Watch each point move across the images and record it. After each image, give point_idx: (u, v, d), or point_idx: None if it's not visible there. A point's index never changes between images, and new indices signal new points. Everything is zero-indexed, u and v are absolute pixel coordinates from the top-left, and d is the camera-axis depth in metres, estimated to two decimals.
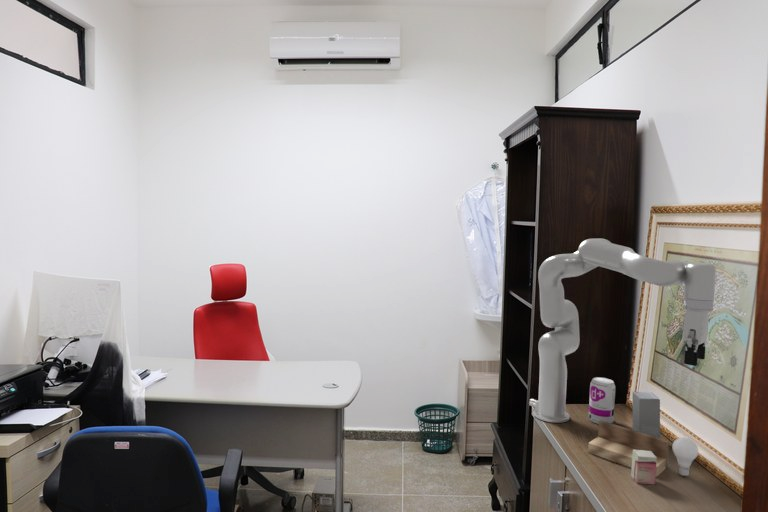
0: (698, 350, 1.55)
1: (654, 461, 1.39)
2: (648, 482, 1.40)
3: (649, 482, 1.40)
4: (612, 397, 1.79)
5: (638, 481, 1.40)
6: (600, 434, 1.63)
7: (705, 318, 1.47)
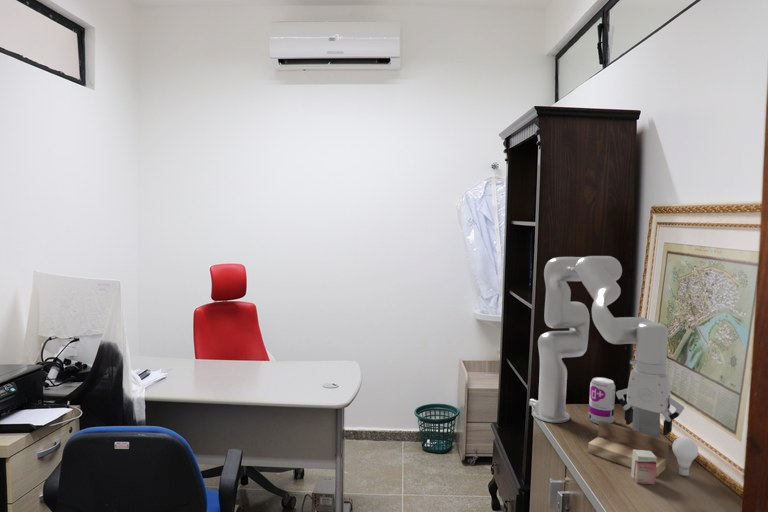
0: (631, 415, 1.44)
1: (654, 461, 1.39)
2: (648, 482, 1.40)
3: (649, 482, 1.40)
4: (612, 397, 1.79)
5: (638, 481, 1.40)
6: (600, 434, 1.63)
7: None
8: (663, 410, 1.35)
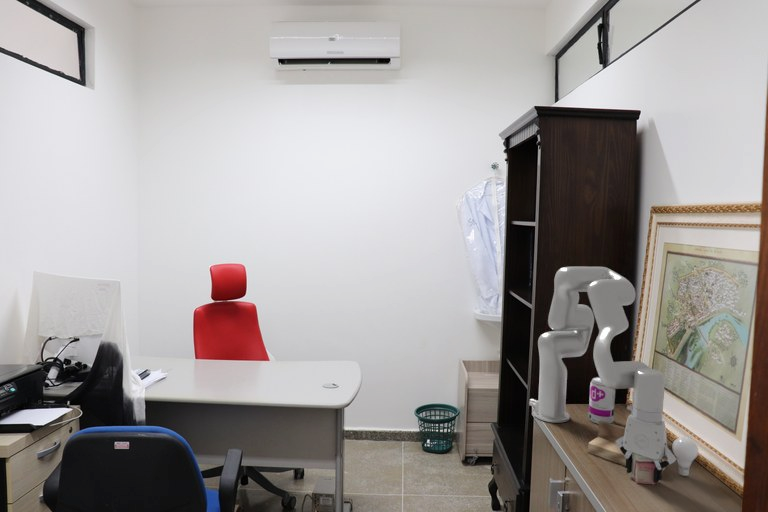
0: None
1: None
2: (648, 482, 1.40)
3: (649, 482, 1.40)
4: (612, 397, 1.79)
5: (638, 481, 1.40)
6: (600, 434, 1.63)
7: None
8: (659, 458, 1.36)
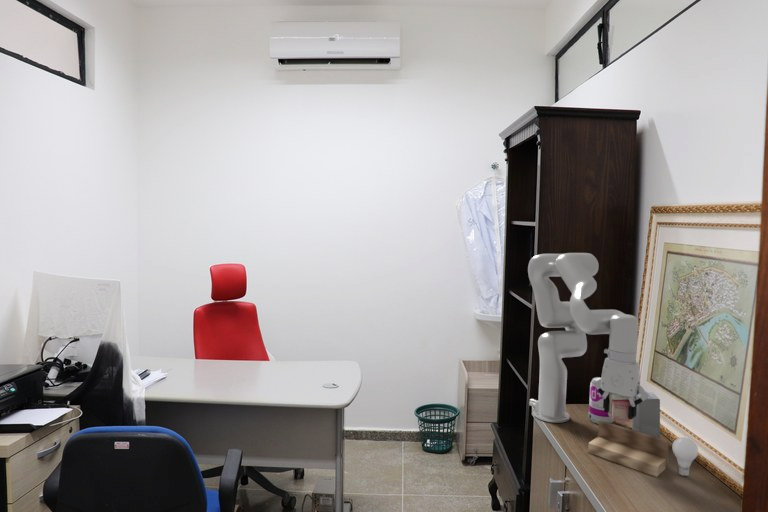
0: None
1: None
2: (623, 419, 1.50)
3: (624, 419, 1.50)
4: None
5: (614, 418, 1.51)
6: (600, 434, 1.63)
7: None
8: (633, 395, 1.47)
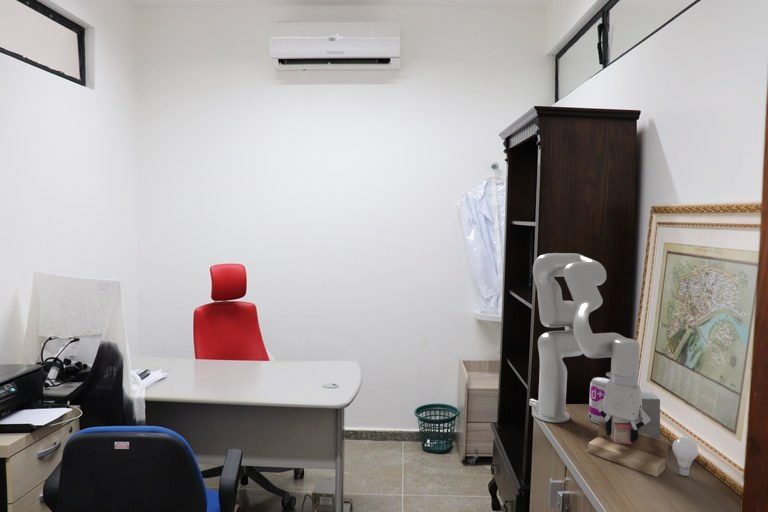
0: None
1: None
2: (625, 441, 1.53)
3: (626, 441, 1.53)
4: None
5: (616, 441, 1.53)
6: (600, 434, 1.63)
7: None
8: (635, 418, 1.49)
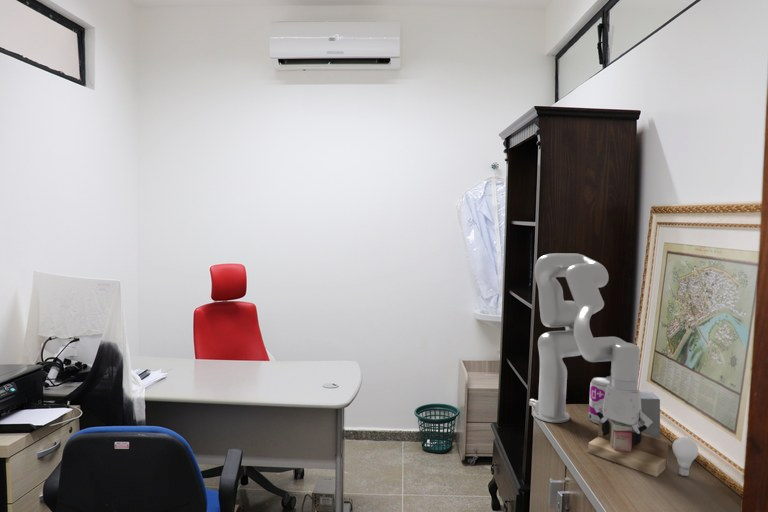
0: (607, 427, 1.58)
1: (630, 430, 1.52)
2: (625, 449, 1.53)
3: (626, 449, 1.53)
4: None
5: (616, 448, 1.53)
6: (600, 434, 1.63)
7: None
8: (634, 423, 1.50)
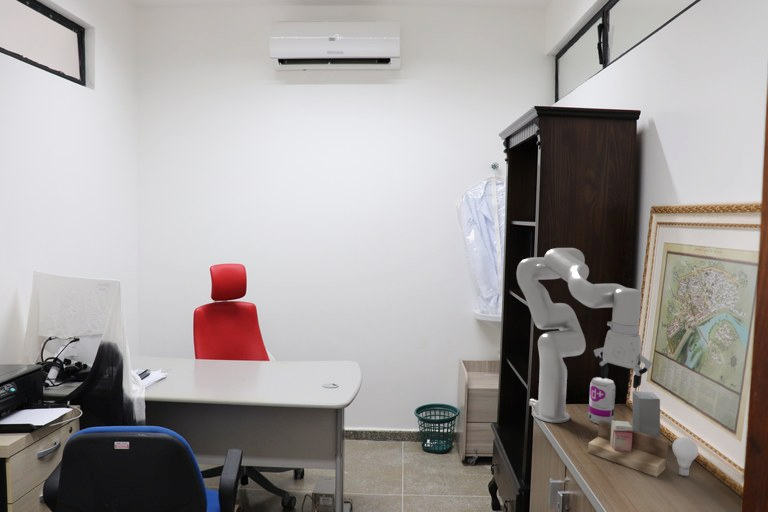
0: (606, 370, 1.60)
1: (630, 430, 1.52)
2: (625, 449, 1.53)
3: (626, 449, 1.53)
4: (612, 397, 1.79)
5: (616, 448, 1.53)
6: (600, 434, 1.63)
7: None
8: (633, 366, 1.52)
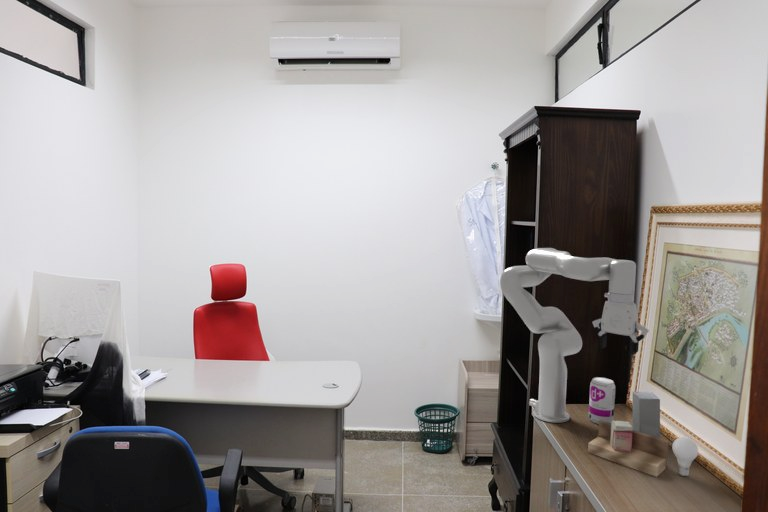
0: (604, 340, 1.67)
1: (630, 430, 1.52)
2: (625, 449, 1.53)
3: (626, 449, 1.53)
4: (612, 397, 1.79)
5: (616, 448, 1.53)
6: (600, 434, 1.63)
7: None
8: (631, 333, 1.59)
